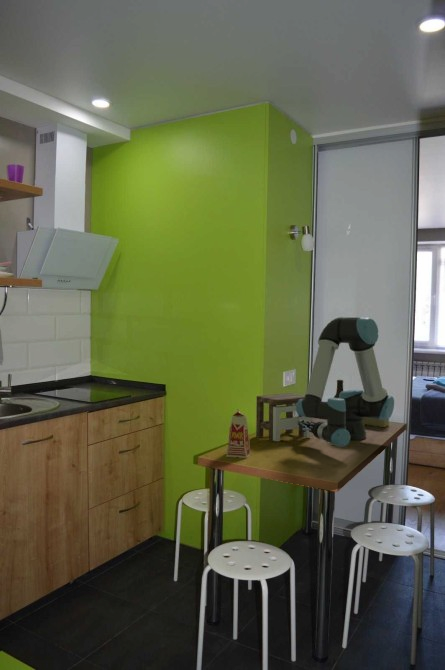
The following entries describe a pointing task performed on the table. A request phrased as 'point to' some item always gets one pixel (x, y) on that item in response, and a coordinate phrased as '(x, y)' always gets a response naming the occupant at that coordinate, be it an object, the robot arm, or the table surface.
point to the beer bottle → (339, 388)
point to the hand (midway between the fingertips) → (297, 421)
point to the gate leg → (286, 421)
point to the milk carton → (238, 437)
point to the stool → (272, 401)
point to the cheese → (376, 422)
